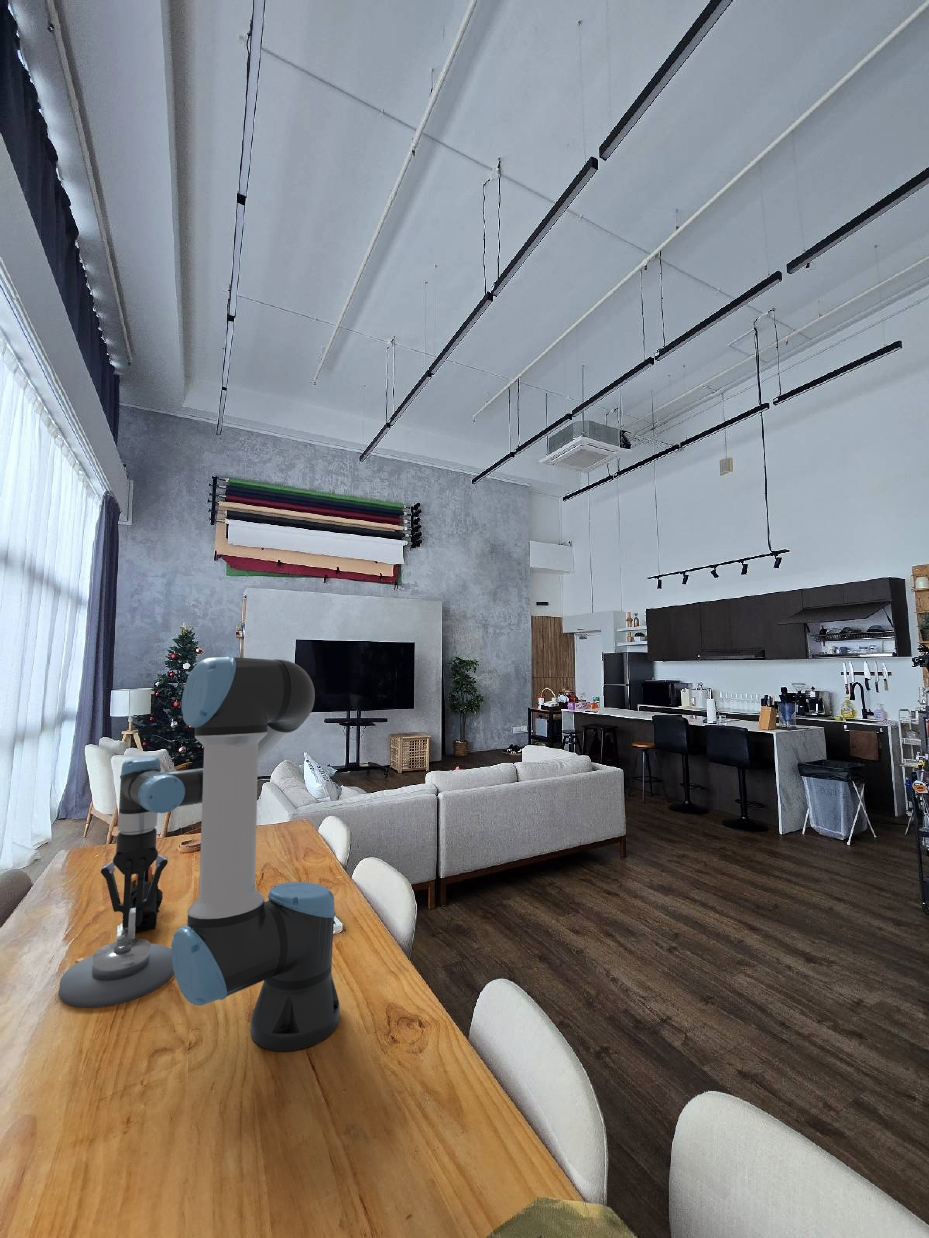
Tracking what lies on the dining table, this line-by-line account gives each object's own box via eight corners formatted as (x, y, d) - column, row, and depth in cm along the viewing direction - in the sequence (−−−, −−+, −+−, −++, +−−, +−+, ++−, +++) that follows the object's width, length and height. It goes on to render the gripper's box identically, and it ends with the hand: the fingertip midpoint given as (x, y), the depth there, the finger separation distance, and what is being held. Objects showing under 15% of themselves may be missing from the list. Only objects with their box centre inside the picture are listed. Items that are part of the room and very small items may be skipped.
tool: (119, 969, 127) (123, 915, 123) (124, 897, 146) (128, 849, 142) (159, 960, 131) (164, 908, 127) (159, 891, 150) (163, 845, 146)
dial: (150, 970, 109) (152, 948, 109) (90, 984, 104) (92, 960, 104) (147, 938, 122) (149, 918, 122) (93, 949, 117) (95, 928, 117)
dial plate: (202, 973, 112) (202, 963, 113) (73, 1021, 96) (74, 1009, 96) (162, 937, 127) (162, 928, 128) (45, 973, 111) (46, 963, 111)
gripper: (170, 821, 127) (164, 928, 125) (105, 829, 121) (98, 940, 119) (169, 830, 120) (164, 942, 118) (101, 838, 114) (93, 956, 112)
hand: (130, 941), depth 118 cm, fingers closed
